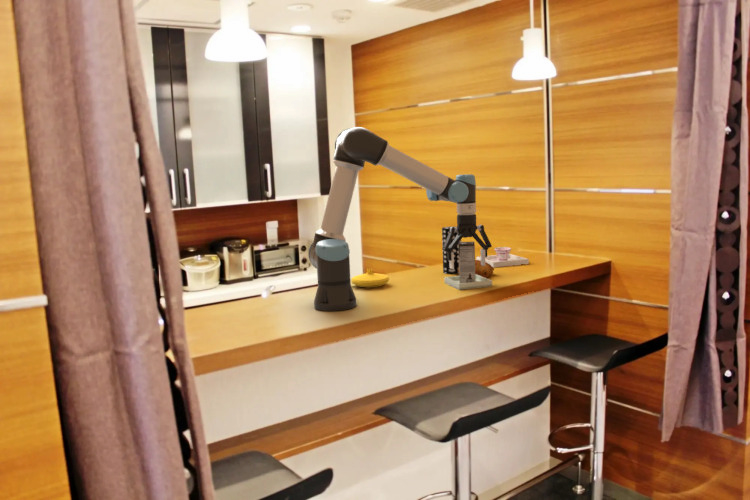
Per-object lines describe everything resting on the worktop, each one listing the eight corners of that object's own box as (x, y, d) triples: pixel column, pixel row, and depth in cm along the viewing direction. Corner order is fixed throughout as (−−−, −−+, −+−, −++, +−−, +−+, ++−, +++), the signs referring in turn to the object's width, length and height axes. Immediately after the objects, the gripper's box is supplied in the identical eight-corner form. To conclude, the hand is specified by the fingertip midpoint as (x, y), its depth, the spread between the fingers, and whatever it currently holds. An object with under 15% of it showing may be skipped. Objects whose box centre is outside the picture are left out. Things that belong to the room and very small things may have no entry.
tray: (459, 290, 239) (459, 283, 239) (444, 283, 254) (444, 277, 253) (492, 286, 243) (492, 280, 243) (475, 279, 257) (475, 274, 257)
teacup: (487, 260, 300) (486, 247, 299) (510, 258, 302) (510, 245, 301) (495, 264, 288) (495, 251, 287) (520, 262, 290) (520, 249, 289)
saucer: (493, 267, 283) (493, 262, 283) (476, 261, 301) (476, 256, 300) (528, 264, 288) (528, 259, 288) (510, 258, 305) (510, 253, 305)
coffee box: (459, 280, 253) (458, 241, 251) (474, 280, 252) (474, 241, 250) (459, 285, 244) (458, 244, 242) (475, 284, 243) (475, 244, 241)
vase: (370, 280, 266) (370, 264, 265) (397, 285, 254) (396, 268, 253) (343, 287, 255) (342, 270, 254) (370, 291, 244) (369, 274, 242)
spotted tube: (465, 272, 275) (464, 227, 272) (451, 274, 270) (450, 229, 267) (453, 269, 282) (452, 226, 279) (439, 272, 277) (438, 228, 274)
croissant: (471, 285, 257) (472, 267, 255) (452, 274, 271) (452, 257, 269) (500, 280, 263) (501, 262, 261) (480, 270, 277) (481, 253, 274)
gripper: (440, 216, 237) (441, 271, 240) (499, 212, 244) (500, 265, 247) (433, 215, 244) (434, 268, 248) (491, 211, 251) (491, 262, 254)
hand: (467, 267), depth 247 cm, fingers open, 13 cm apart
